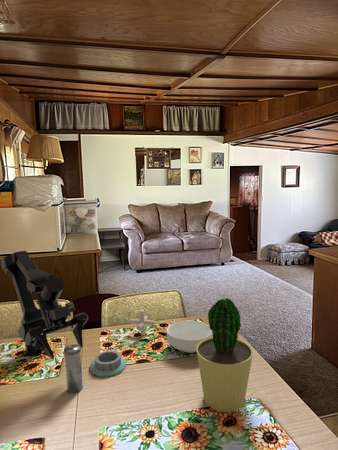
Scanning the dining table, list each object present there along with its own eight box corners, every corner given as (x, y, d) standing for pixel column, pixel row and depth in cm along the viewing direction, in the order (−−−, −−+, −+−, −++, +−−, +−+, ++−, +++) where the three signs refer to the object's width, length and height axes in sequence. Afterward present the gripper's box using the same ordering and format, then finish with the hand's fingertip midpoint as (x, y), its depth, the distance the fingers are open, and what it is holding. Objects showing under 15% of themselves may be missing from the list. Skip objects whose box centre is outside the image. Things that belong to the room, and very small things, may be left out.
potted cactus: (234, 377, 104) (235, 284, 100) (263, 409, 89) (265, 302, 85) (188, 388, 99) (187, 291, 95) (211, 423, 85) (210, 310, 81)
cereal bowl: (220, 343, 126) (220, 325, 125) (199, 364, 112) (199, 344, 111) (181, 333, 135) (180, 316, 134) (158, 351, 121) (157, 332, 120)
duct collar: (92, 358, 117) (91, 349, 117) (126, 355, 118) (126, 347, 118) (87, 378, 105) (87, 368, 105) (125, 375, 106) (125, 365, 106)
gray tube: (68, 384, 102) (65, 344, 100) (84, 383, 103) (82, 343, 101) (65, 394, 97) (62, 352, 96) (81, 393, 98) (79, 351, 96)
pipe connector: (151, 340, 129) (150, 316, 127) (127, 338, 131) (126, 314, 129) (157, 329, 138) (157, 306, 137) (134, 327, 140) (133, 305, 139)
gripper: (25, 303, 96) (43, 353, 90) (83, 288, 109) (103, 330, 102) (18, 321, 103) (34, 368, 97) (74, 305, 116) (92, 346, 109)
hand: (67, 352), depth 101 cm, fingers open, 9 cm apart
